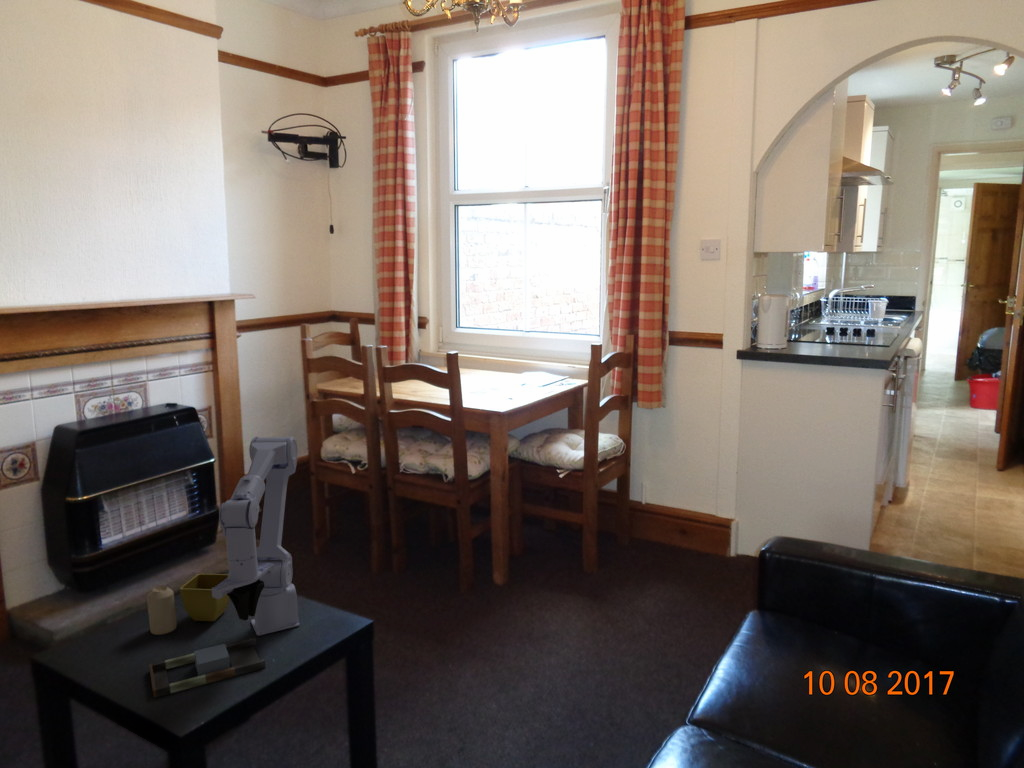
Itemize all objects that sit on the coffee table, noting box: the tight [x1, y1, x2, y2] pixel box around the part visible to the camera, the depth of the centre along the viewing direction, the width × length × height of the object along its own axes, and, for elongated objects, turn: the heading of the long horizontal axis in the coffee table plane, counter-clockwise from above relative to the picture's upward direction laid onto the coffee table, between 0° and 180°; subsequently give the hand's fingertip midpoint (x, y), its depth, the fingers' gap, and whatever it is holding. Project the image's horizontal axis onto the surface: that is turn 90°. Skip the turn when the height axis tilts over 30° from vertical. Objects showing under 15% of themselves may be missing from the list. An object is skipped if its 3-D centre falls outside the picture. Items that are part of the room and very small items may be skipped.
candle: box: [146, 585, 178, 636], centre depth 169 cm, size 6×6×10 cm
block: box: [193, 643, 231, 676], centre depth 153 cm, size 6×6×4 cm
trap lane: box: [148, 637, 266, 699], centre depth 153 cm, size 21×11×2 cm, turn 119°
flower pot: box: [179, 573, 231, 622], centre depth 175 cm, size 9×9×9 cm
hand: (247, 616), depth 156 cm, fingers closed
